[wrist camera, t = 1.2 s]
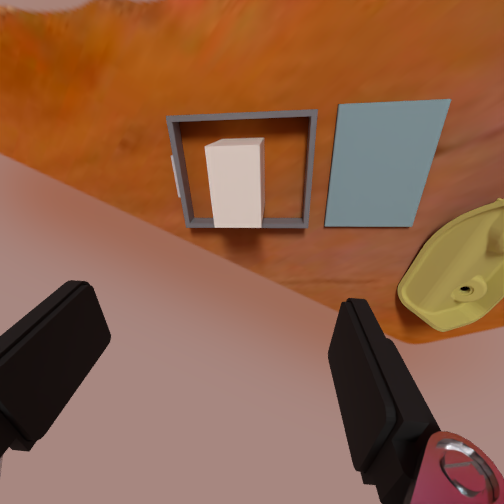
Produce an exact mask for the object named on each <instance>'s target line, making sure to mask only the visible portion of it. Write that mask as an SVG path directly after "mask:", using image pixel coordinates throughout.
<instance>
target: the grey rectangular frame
mask: <svg viewBox="0 0 504 504" xmlns="http://www.w3.org/2000/svg"><path fill="white" fill-rule="evenodd" d="M317 113H318V109H313V110H291V111H268V112H245V113H222V114H200V115H177V116H166V120H167V126H168V131H169V136H170V142H171V147H172V153H173V155H172V156H171V159H172V165H173V170H174V175H175V181H176V186H177V191H178V197H181V202H182V207H183V213H184V218H185V224H186V228H215V227H214V219H213V218H194V213H193V207H192V201H191V195H190V188H189V182H188V176H187V170H186V164H185V158H184V152H183V145H182V139H181V133H180V127H179V122H185V121H209V120H233V119H257V118H282V117H306V116H309V126H308V141H307V156H306V170H305V185H304V200H303V214H302V218H263V220H262V227H261V228H308V222H309V210H310V198H311V185H312V173H313V161H314V149H315V137H316V125H317Z"/></svg>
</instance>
